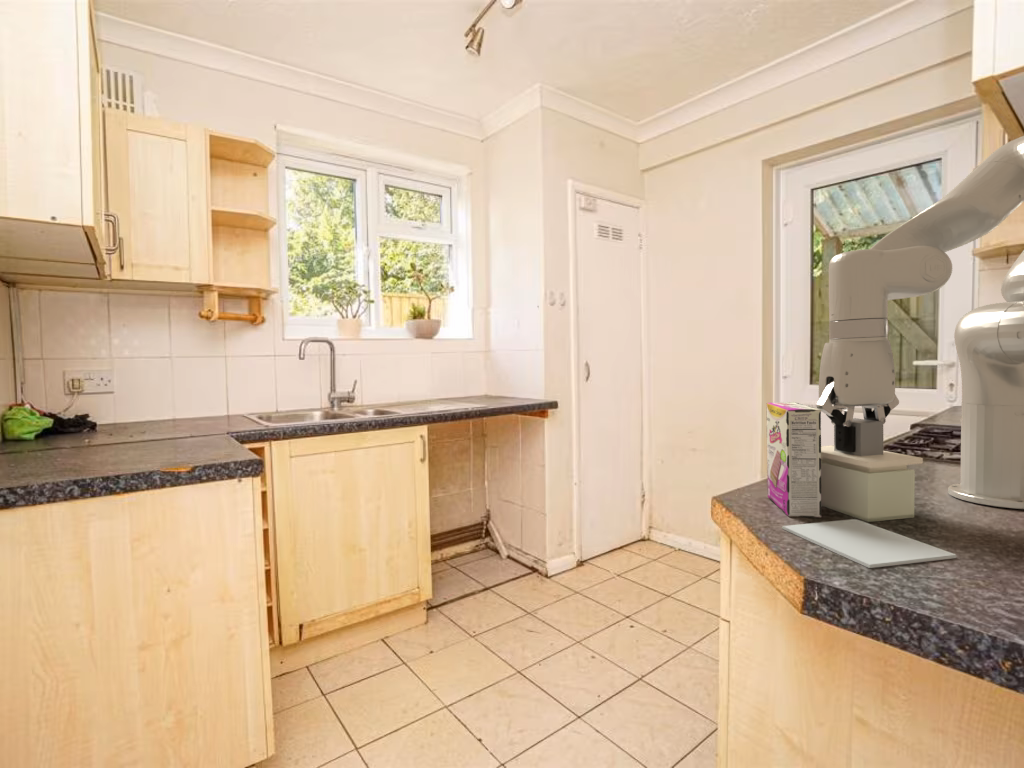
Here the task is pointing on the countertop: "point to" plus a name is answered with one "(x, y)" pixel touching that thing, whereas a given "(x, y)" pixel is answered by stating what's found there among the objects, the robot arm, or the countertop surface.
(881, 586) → the countertop surface
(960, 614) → the countertop surface
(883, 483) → the tub
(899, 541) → the board
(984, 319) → the robot arm
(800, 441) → the candy bar box
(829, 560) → the countertop surface
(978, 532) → the countertop surface
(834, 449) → the lid
